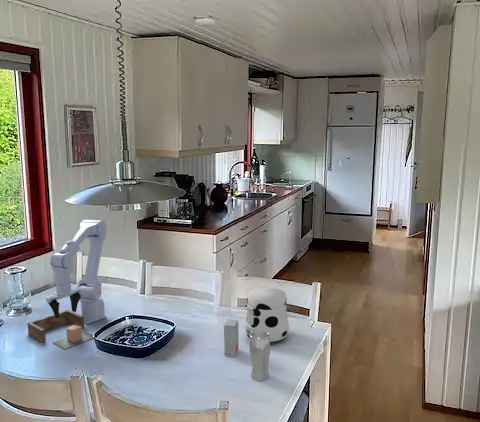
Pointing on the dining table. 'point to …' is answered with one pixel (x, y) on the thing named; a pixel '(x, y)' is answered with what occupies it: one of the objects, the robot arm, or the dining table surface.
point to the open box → (40, 325)
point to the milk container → (267, 313)
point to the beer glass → (260, 355)
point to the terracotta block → (74, 333)
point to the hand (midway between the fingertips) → (65, 314)
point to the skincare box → (231, 338)
